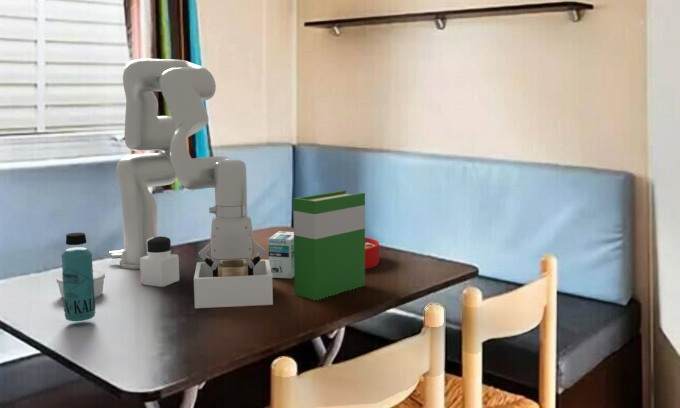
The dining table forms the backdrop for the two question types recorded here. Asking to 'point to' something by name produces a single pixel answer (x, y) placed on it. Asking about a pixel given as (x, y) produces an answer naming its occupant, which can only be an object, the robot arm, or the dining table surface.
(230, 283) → the grey plastic crate
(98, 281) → the ramekin
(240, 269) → the small wooden crate
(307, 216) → the hardback book
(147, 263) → the medicine bottle
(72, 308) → the beverage bottle
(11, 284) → the dining table surface
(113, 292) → the dining table surface
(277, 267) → the light bulb box
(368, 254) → the toy clock
